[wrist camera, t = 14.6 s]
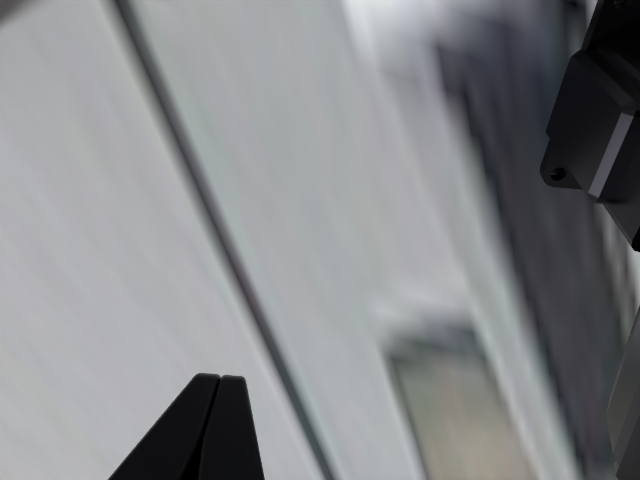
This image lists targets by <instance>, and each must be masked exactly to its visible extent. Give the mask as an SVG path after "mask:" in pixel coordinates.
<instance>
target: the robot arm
mask: <svg viewBox="0 0 640 480" xmlns="http://www.w3.org/2000/svg"><path fill="white" fill-rule="evenodd" d="M613 2H614V0H598V1H597V4H596V7H595V10H594V13H593V16H592V19H591V22H590V25H589V28H588V30H587V33H586V36H585V39H584V42H583V45H582V48H581V50H579V51H578V52H576V53H575V54H574V55H573V56H572V57H571V58H570V61H569V64H568V67H567V70H566V73H565V75H564V78H563V81H562V84H561V87H560V90H559V93H558V96H557V99H556V102H555V105H554V108H553V111H552V114H551V117H550V120H549V123H548V126H547V129H546V133H547V135H548V136H549V138H550V140H549V143H548V146H547V149H546V152H545V155H544V158H543V161H542V164H541V167H540V174H541V177H542V178H543V180H544V182H545V183H546V184H547V185H548V186H552V187H559V188H572V189H583V191H584V193H585V194H586V196H587V197H588V198H589V200H590V201H591V202H592V203H600V204H603V205H604V207H605V208H606V210H607V211H608V213H609V214H610V216H611V217H612V219H613V220H614V222H615V223H616V225H617V226H618V228H619V229H620V230H621V232H622V233H623V235H624V236H625V238H626V239H627V241H628V242H629V244H630V245H631V247H632V248H633V250H634V251H637V252H640V0H625V1H624V2H623V3H621V4H620V5H616V6H614V4H613ZM560 167H561V168H563V169H562V171H561V172H560V173H558V174H556V175H551V172H552V171H553V170H554V169H556V168H560ZM606 420H607V425H608V430H609V435H610V440H611V446H612V451H613V454H614V457H615V459H616V463H615V467H614V471H615V475H616V477H617V478H618V480H640V306H639V309H638V312H637V315H636V318H635V321H634V324H633V327H632V330H631V333H630V336H629V339H628V342H627V345H626V348H625V351H624V354H623V357H622V360H621V363H620V366H619V370H618V373H617V376H616V379H615V382H614V385H613V388H612V392H611V396H610V401H609V405H608V409H607V413H606ZM108 480H265V478H264V473H263V468H262V463H261V457H260V452H259V447H258V442H257V436H256V431H255V426H254V421H253V415H252V410H251V405H250V400H249V395H248V389H247V384H246V380H245V378H244V377H242V376H232V375H224V376H222V377H220V375H217V374H208V373H199V374H197V375H195V376H194V377H193V378H192V380H191V381H190V382H189V383H188V384H187V386H186V387H185V388H184V389H183V390H182V392H181V393H180V394H179V395H178V396H177V398H176V399H175V400H174V401H173V402H172V404H171V405H170V406H169V407H168V408H167V410H166V411H165V412H164V413H163V414H162V415H161V417H160V418H159V419H158V420H157V421H156V423H155V424H154V425H153V426H152V427H151V429H150V430H149V431H148V432H147V433H146V435H145V436H144V437H143V438H142V439H141V441H140V442H139V443H138V444H137V445H136V447H135V448H134V449H133V450H132V451H131V452H130V454H129V455H128V456H127V457H126V458H125V460H124V461H123V462H122V463H121V464H120V466H119V467H118V468H117V469H116V470H115V472H114V473H113V474H112V475H111V476H110V478H109V479H108Z"/></svg>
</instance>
